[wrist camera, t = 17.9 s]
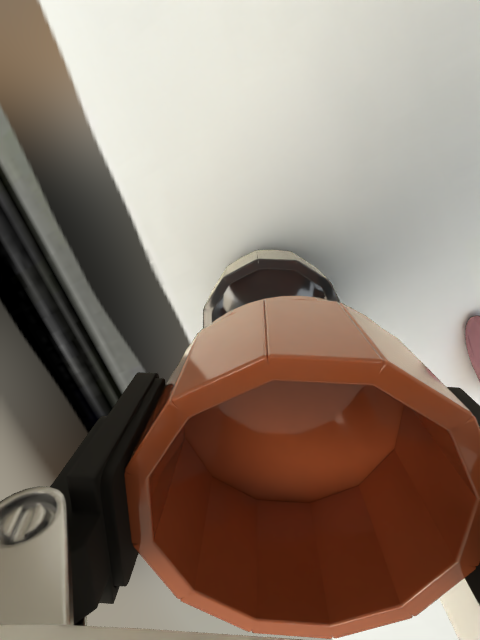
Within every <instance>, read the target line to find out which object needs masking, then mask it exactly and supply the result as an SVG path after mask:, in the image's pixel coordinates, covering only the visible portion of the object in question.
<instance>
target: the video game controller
mask: <svg viewBox="0 0 480 640" xmlns="http://www.w3.org/2000/svg"><path fill="white" fill-rule="evenodd" d="M465 336H466V345H467V350H468V354H469V357H470V360H471V363H472V366H473V368H474V370H475V372H476V375H477V377H478V379H479V381H480V316H474V317H471V318H470V319H469V320H468V322H467V325H466V331H465Z"/></svg>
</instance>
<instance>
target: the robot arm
mask: <svg viewBox="0 0 480 640" xmlns="http://www.w3.org/2000/svg"><path fill="white" fill-rule="evenodd" d="M165 386H166V385H165V379H162V378H159V376H158V374H157V373H140V372H139V373H137V374H136V375H135V377H134V378H133V380H132V381H131V383H130V384H129V385H128V387H127V388H126V390H125V391H124V393H123V394H122V396H121V397H120V399H119V400H118V401H117V403H116V404H115V406H114V407H113V409H112V410H111V412H110V413H109V415H108V416H103V417H101V418H100V419H99V420H98V421H97V422H96V424H95V425H94V426H93V428H92V429H91V431H90V432H89V433H88V435H87V436H86V438H85V439H84V440H83V442H82V443H81V445H80V446H79V447H78V449H77V450H76V452H75V453H74V455H73V456H72V457H71V459H70V460H69V462H68V463H67V464H66V466H65V467H64V468H63V470H62V471H61V473H60V474H59V476H58V477H57V478H56V480H55V481H54V483H53V484H52V485H51V486H50V487H33V488H28V489H25V490H22V491H19V492H17V493H14V494H12V495H11V496H9V497H7V498H5V499H4V500H2V501H0V640H299V639H286V638H271V637H257V636H243V635H227V634H213V633H198V632H182V631H169V630H154V629H153V630H152V629H138V628H137V629H136V628H116V627H94V626H93V627H92V626H87V617H86V616H87V615H88V614H89V613H91V612H92V611H94V610H95V609H96V608H97V606H98V604H99V603H108V604H113V603H114V600H115V598H116V595H117V592H118V589H119V586H126V585H127V584H128V582H129V580H130V577H131V574H132V571H133V568H134V565H135V562H136V558H137V555H138V552H137V551H136V549H135V548H134V547H133V543H132V541H131V532H130V523H129V514H128V504H127V495H126V486H125V476H124V474H125V467H126V465H127V463H128V461H129V459H130V457H131V455H132V453H133V451H134V449H135V447H136V445H137V443H138V440H139V438H140V436H141V434H142V432H143V430H144V428H145V426H146V424H147V422H148V420H149V418H150V416H151V414H152V412H153V410H154V408H155V406H156V404H157V402H158V400H159V398H160V396H161V394H162V392H163V390H164V388H165ZM447 388H448V389H449V390H450V391H451V392H452V393H453V394H454V395H455V396H456V397H457V398H458V399H459V400H460V401H461V402H462V403H463V404H464V405H465V406H466V407H467V408H468V409H469V410H470V411H471V413H472V414H473V415H474V416H475V417H476V419H477V422H478V425H479V427H480V406H479V405H478V404H477V403H476V402H475V401H474V400H473V399H472V398H471V397H470V396H469V395H467V394H466V393H465V392H464V391H463V390H462V389H460V388H455V387H447ZM465 580H466V582H467V584H468V586H469V587H470V589H471V591H472V593H473V595H474V597H475V598H476V600H477V602H478V604H479V605H480V564H479V566H477V567H476V570H475V571H473V572H472V573H471V574H469V575H468V576H467V577H466V578H465ZM300 640H301V639H300Z"/></svg>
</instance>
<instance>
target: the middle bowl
mask: <svg viewBox="0 0 480 640" xmlns="http://www.w3.org/2000/svg"><path fill="white" fill-rule="evenodd" d="M124 476H125V486H126V495H127V504H128V514H129V523H130V532H131V541H132V543H133V547H134V548H135V549H136V551H137V552H138V553H139V554H140V555H141V556H142V558H143V559H144V560H145V561H146V562H147V563H148V565H149V566H150V567H151V568H152V569H153V570H154V572H155V573H156V574H157V575H158V576H159V577H160V579H161V580H162V581H163V582H164V583H165V584H166V586H167V587H168V588H169V589H170V590H171V591H172V593H173V594H174V595H175V596H176V598H178V599H180V600H181V601H182V602H184V603H186V604H188V605H190V606H193V607H195V608H197V609H199V610H201V611H204V612H206V613H208V614H210V615H212V616H215V617H217V618H219V619H221V620H224V621H226V622H228V623H230V624H233V625H234V626H237V627H239V628H241V629H243V630H245V631H248V632H250V631H252V632H253V633H259V634H274V635H286V636H300V637H312V638H326V639H331V638H332V637H333V638H339V637H343V636H347V635H351V634H354V633H358V632H362V631H365V630H369V629H373V628H377V627H380V626H384V625H388V624H392V623H395V622H399V621H403V620H407V619H410V618H412V615H413V616H417V615H418V614H419V613H421V612H422V611H423V610H424V609H426V608H427V607H428V606H430V605H431V604H432V603H433V602H435V601H436V600H437V599H439V598H440V597H441V596H442V595H444V594H445V593H446V592H448V591H449V590H450V589H451V588H453V587H454V586H455V585H457V584H458V583H459V582H460V581H462V580H463V579H464V578H466V577H467V576H468V575H469V574H471V573H472V572H473V571H475V570H476V567H477V566H479V564H480V427H479V425H478V422H477V419H476V417H475V416H474V415H473V414H472V413H471V411H470V410H469V409H468V408H467V407H466V406H465V405H464V404H463V403H462V402H461V401H460V400H459V399H458V398H457V397H456V396H455V395H454V394H453V393H452V392H451V391H450V390H449V389H448V388H447V387H446V386H445V385H444V384H443V383H442V382H441V381H440V380H439V379H438V378H437V377H436V376H435V375H434V374H433V373H432V372H431V371H430V370H429V369H428V368H427V367H426V366H425V365H424V364H423V363H422V362H421V361H420V360H419V359H418V358H417V357H416V356H415V355H414V354H413V353H412V352H411V351H410V350H409V349H408V348H407V347H406V346H405V345H404V344H403V343H402V342H401V341H400V340H399V339H398V338H397V337H395V336H393V335H392V334H390V333H389V332H387V331H386V330H384V329H382V328H381V327H380V326H379V325H378V324H376V323H375V322H374V321H372V320H371V319H369V318H368V317H367V316H365V315H363V314H362V313H360V312H358V311H356V310H354V309H352V308H350V307H348V306H346V305H345V304H343V303H339V302H337V301H330V300H326V299H322V298H317V297H307V296H280V297H273V298H266V299H262V300H258V301H255V302H251V303H248V304H245V305H243V306H241V307H238V308H236V309H233V310H231V311H230V312H228V313H226V314H224V315H223V316H221V317H219V318H218V319H216V320H215V321H214V322H212V323H211V324H210V325H209V326H207V327H206V328H204V329H202V330H201V331H200V332H199V333H197V335H196V337H195V338H194V340H193V341H192V343H191V344H190V346H189V347H188V349H187V350H186V351H185V353H184V355H183V357H182V359H181V361H180V362H179V364H178V366H177V367H176V369H175V370H174V372H173V374H172V375H171V377H170V379H169V380H168V382H167V384H166V386H165V388H164V390H163V392H162V394H161V396H160V398H159V400H158V402H157V404H156V406H155V408H154V410H153V412H152V414H151V416H150V418H149V420H148V422H147V424H146V426H145V428H144V430H143V432H142V434H141V436H140V438H139V440H138V443H137V445H136V447H135V449H134V451H133V453H132V455H131V457H130V459H129V461H128V463H127V465H126V467H125V474H124Z"/></svg>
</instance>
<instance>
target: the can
mask: <svg viewBox="0 0 480 640" xmlns="http://www.w3.org/2000/svg"><path fill="white" fill-rule="evenodd" d="M439 599H440V601H441V603H442V605H443V607H444V609H445V611H446V613H447V616H448V618H449V620H450V622H451V624H452V626H453V628H454V630H455V632H456V635H457V637H458V639H459V640H480V605H479V604H478V602H477V600H476V598H475V597H474V595H473V593H472V591H471V589H470V587H469V586H468V584H467V582H466V580H465V578H464V579H463V580H462V581H460V582H459V583H458V584H457V585H455V586H454V587H453V588H451V589H450V590H449V591H448V592H446V593H445V594H444V595H442V596H441V597H440V598H439Z"/></svg>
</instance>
